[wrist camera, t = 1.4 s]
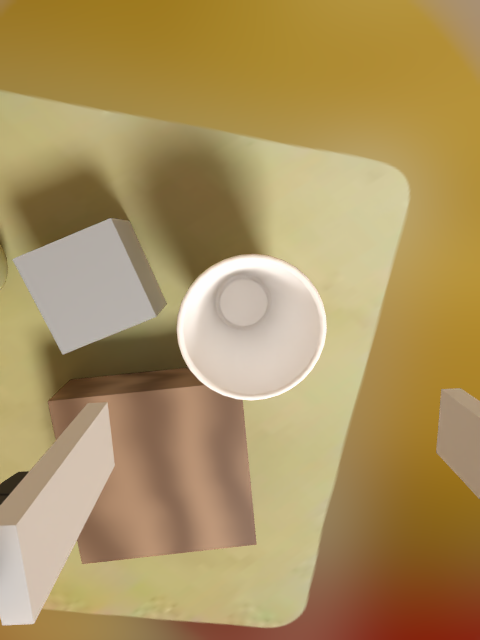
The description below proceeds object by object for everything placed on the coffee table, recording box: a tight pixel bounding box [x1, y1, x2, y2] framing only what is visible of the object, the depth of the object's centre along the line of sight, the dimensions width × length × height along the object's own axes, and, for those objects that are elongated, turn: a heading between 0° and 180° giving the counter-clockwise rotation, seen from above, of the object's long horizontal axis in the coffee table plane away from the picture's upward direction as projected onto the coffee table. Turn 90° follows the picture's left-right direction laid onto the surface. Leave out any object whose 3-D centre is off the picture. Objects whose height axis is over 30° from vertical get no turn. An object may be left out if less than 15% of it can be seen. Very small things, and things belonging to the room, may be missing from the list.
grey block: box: [12, 218, 167, 354], centre depth 33 cm, size 8×8×6 cm
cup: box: [176, 254, 327, 400], centre depth 31 cm, size 10×10×11 cm
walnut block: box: [48, 368, 256, 564], centre depth 37 cm, size 16×16×5 cm
